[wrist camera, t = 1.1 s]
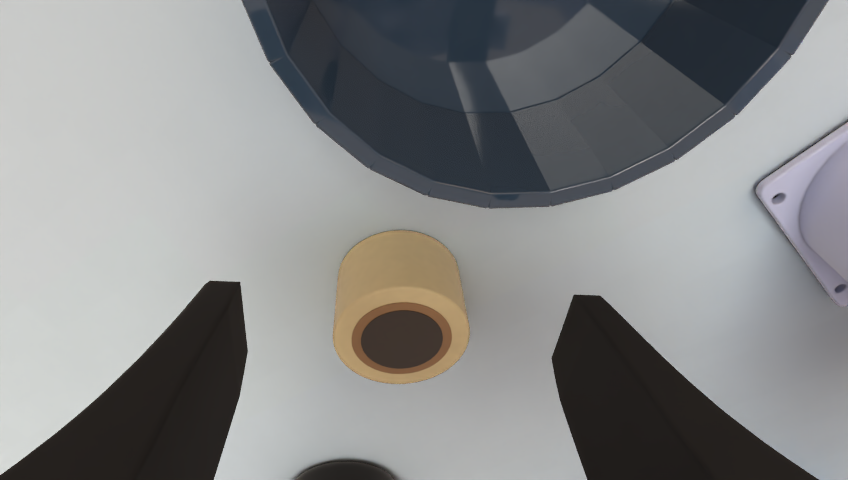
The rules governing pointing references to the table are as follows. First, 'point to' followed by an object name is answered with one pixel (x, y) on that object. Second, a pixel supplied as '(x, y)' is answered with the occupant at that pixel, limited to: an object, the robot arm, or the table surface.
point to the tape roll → (399, 308)
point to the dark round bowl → (525, 85)
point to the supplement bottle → (345, 472)
